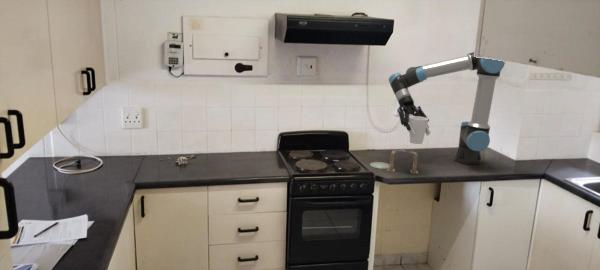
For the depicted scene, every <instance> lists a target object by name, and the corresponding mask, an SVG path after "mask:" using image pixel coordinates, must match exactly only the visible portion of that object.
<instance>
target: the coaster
mask: <svg viewBox="0 0 600 270" xmlns="http://www.w3.org/2000/svg"><path fill="white" fill-rule="evenodd" d="M369 167H371V168H373V169H379V170H387V169H390V163H387V162H381V161H374V162H370V164H369Z"/></svg>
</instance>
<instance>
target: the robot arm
mask: <svg viewBox="0 0 600 270" xmlns="http://www.w3.org/2000/svg"><path fill="white" fill-rule="evenodd" d="M474 52H475V51H473V52H470V53H467V54H466V55H464V56H458V57H456V58H455V57H454V58H450V59H446V60H440V61H436V62H432V63H428V64H423V65H419V66H411V67H409V68H407V70H406V72H405V73H404V74H402V73H400V72H394V73H392V74H391V75H390V76H389V78H388V83H389V85H390V87H391V89H392V92H393V94H394V95H395V98H396V100H397V102H398V104H399V107H398V108H397V113H398V116H399V120H400V124H401V126H403V127H405V128H406V130H407V131H408V132H409V136H410V135H411V137H413V136H414V135H415V132H414V130H413V128H412V126H411V123H409V117H410V115H412V116H420V117H425V118H428V116H427V115H426V113H424V111H423V110H422V107H421V106H420V105H418V106H416V105H415V101H414V99H413V97H412V95H411V93H410V90H409V88H410V87H413V86H415V85H417V84H420V83H423V82H424V81H426V80H427V79H429V78H434V77H438V76H443V75H448V74H453V73H458V72H464V71H467V70H470V71H476V75H477V77H478V80H477V81H478V82H477V87H476V92H475V95H474V96H475V97H474V103H473V107H472V115H471V120H470V121H462V122H461V124H460V131H459V139H458V147H457V149H456V152H455V154H454V156H453V160H454V161H455V162H457V163H460V164H466V165H480V164H481V163H482V153H481V151H484V150H486V149H487V148H488V147H489V145H490V142H491V139H490V130H491V126H490V125H489V119H490V114H491V112H490V111H491V109H492V108H491V107H492V104H493V103H492V102H493V97H494V91H495V87H496V81H497V80H498V78H499V79H500V76H501V71H502V70H503V69H504V68H505V67H504V66H505V64H506V61H505V62H503V61H498V60H492V59H485V58H476V57H474ZM428 122H430V120H429V118H428ZM429 128H430V127H429V125H428V123H427V126H426V131H425V134H426V136H429V135H430V134H431V133H432V132H431V131H430V129H429Z"/></svg>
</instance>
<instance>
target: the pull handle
mask: <svg viewBox="0 0 600 270" xmlns="http://www.w3.org/2000/svg"><path fill="white" fill-rule="evenodd" d="M401 152H404V153H409V154H413V160H412V162H413V163H412V169H409V172H410V174H419V171H418V170H417V167H418V166H417V165H418V153H417V151H413V150H408V149H403V148H402V149H397V150H391V152H390V159H389V165H390V168H388V169H386V170H387V173H396V169H395V168H394V163H395V162H394V161H395V154H396V153H401Z"/></svg>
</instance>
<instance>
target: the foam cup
mask: <svg viewBox="0 0 600 270" xmlns="http://www.w3.org/2000/svg"><path fill="white" fill-rule="evenodd" d="M428 119H429V118H428V117H427V118H425V117H420V116H413V115H412V116H409V123H411V126H412V128H413V130H414V132H415V135H414V136H413V137H411V135H410V134H409V143H410V144H414V145H421V144H423V142H424V139H425V134H426V133H425V131H426V126H427V124H428V123H429V121H428ZM409 123H408V124H409Z"/></svg>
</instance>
